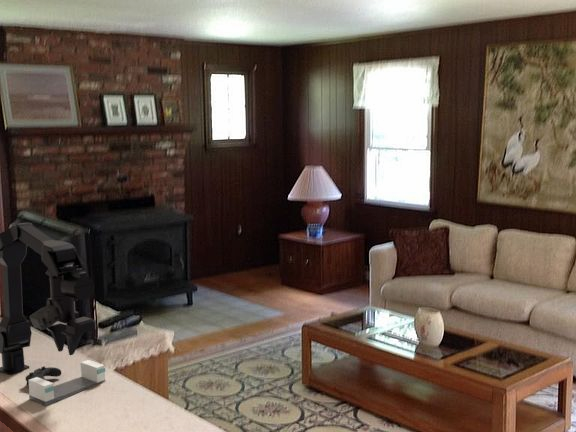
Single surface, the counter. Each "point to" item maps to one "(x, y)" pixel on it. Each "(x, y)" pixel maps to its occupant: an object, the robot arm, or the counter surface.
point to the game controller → (43, 373)
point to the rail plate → (68, 389)
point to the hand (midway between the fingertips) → (66, 353)
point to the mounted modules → (46, 389)
